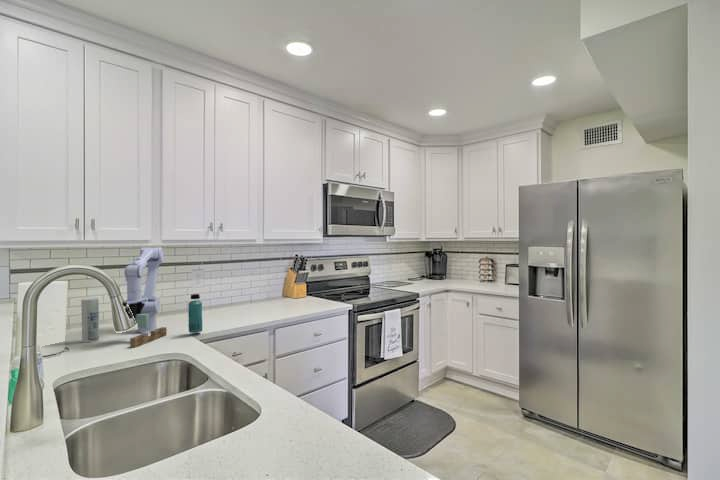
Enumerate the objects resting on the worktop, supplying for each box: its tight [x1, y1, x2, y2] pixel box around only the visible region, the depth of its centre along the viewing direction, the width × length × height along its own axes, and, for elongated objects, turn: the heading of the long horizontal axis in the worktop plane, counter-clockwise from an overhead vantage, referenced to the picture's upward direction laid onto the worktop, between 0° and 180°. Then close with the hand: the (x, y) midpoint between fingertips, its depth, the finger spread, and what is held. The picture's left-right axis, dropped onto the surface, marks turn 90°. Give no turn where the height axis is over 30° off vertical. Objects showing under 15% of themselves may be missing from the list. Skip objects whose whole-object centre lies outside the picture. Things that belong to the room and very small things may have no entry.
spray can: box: [80, 297, 100, 344], centre depth 170 cm, size 6×6×20 cm
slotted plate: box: [135, 314, 150, 329], centre depth 170 cm, size 14×2×6 cm, turn 80°
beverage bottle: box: [187, 293, 203, 334], centre depth 180 cm, size 6×7×20 cm
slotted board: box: [129, 326, 167, 349], centre depth 169 cm, size 20×2×4 cm, turn 171°
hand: (134, 319), depth 170 cm, fingers closed on slotted plate, 2 cm apart
